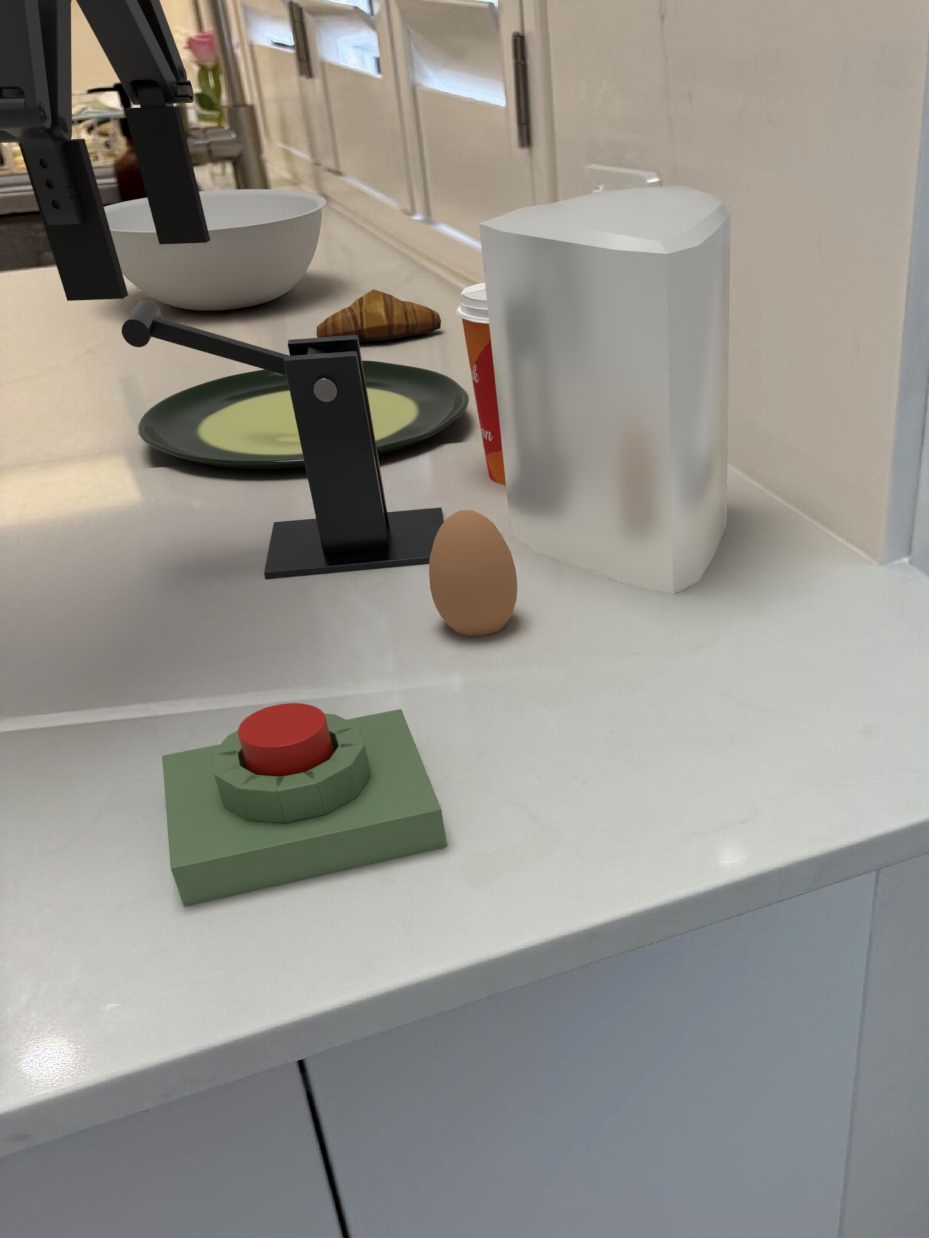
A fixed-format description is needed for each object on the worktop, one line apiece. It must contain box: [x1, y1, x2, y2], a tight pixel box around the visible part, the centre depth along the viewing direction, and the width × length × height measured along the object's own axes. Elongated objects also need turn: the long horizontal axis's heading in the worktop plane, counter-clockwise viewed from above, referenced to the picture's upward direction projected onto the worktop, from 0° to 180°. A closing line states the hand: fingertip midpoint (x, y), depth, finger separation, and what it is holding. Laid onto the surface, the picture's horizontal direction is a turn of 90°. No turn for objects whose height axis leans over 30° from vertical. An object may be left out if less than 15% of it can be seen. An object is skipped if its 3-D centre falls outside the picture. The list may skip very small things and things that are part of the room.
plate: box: [137, 359, 470, 470], centre depth 105 cm, size 28×28×2 cm
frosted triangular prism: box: [478, 184, 731, 595], centre depth 78 cm, size 15×14×22 cm
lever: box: [121, 299, 327, 375], centre depth 75 cm, size 13×5×2 cm, turn 100°
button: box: [237, 702, 333, 777], centre depth 56 cm, size 4×4×2 cm
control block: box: [161, 708, 448, 907], centre depth 58 cm, size 12×10×4 cm
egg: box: [428, 509, 518, 638], centre depth 72 cm, size 5×5×8 cm
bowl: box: [104, 188, 328, 312], centre depth 142 cm, size 27×27×10 cm
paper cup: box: [456, 282, 506, 486], centre depth 90 cm, size 8×8×14 cm
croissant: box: [316, 289, 442, 343], centre depth 129 cm, size 14×7×5 cm, turn 112°
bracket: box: [263, 335, 445, 580], centre depth 80 cm, size 12×9×14 cm
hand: (145, 268), depth 63 cm, fingers open, 13 cm apart
